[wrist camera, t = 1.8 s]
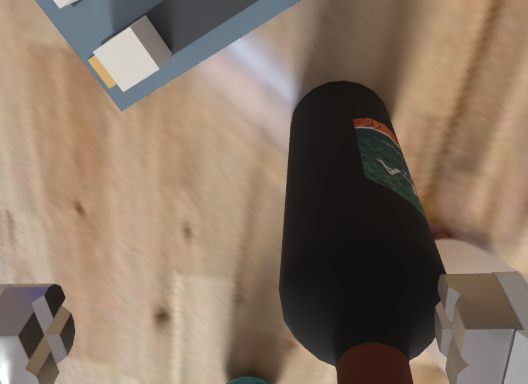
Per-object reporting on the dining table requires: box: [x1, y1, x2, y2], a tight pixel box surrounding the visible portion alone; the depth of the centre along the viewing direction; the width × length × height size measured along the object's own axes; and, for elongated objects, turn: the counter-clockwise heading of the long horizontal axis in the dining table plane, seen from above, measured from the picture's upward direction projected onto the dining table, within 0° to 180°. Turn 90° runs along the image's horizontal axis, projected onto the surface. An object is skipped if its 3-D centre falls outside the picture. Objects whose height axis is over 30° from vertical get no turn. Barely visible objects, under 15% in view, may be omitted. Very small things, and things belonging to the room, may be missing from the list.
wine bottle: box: [279, 81, 446, 384], centre depth 26 cm, size 8×8×30 cm
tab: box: [93, 15, 172, 92], centre depth 33 cm, size 3×3×4 cm
